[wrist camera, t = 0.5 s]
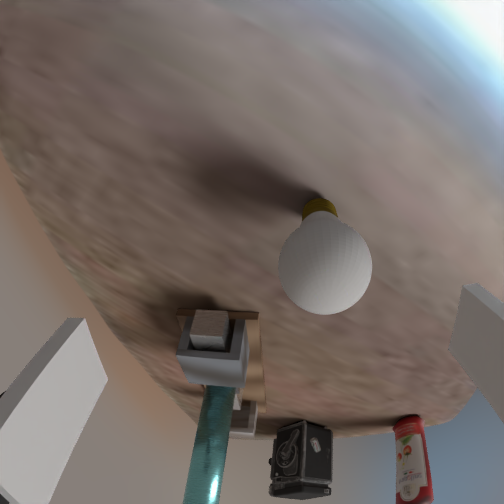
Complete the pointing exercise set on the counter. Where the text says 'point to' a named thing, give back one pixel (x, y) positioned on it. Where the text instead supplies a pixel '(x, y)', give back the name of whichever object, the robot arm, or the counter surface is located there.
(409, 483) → the liquor
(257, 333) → the bench
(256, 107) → the counter surface
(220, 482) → the tube
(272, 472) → the camera
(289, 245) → the light bulb
